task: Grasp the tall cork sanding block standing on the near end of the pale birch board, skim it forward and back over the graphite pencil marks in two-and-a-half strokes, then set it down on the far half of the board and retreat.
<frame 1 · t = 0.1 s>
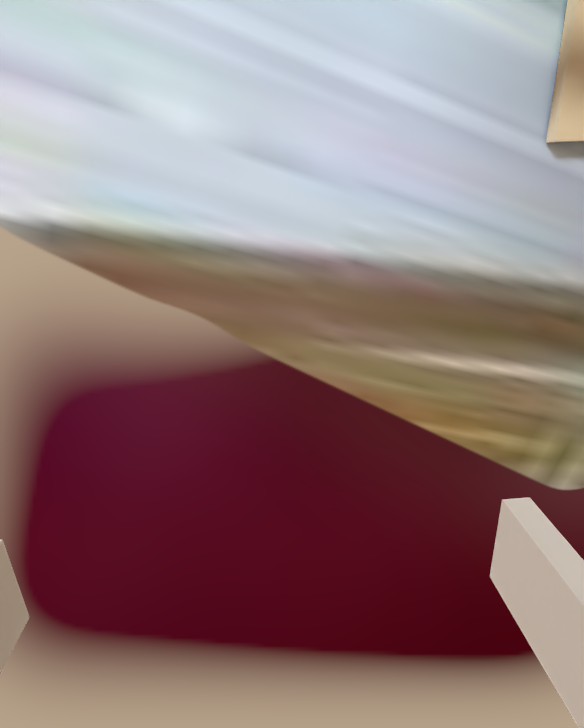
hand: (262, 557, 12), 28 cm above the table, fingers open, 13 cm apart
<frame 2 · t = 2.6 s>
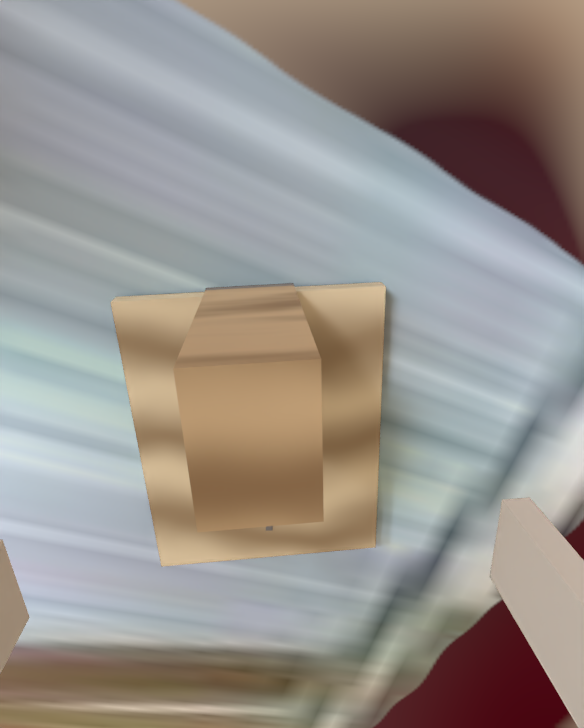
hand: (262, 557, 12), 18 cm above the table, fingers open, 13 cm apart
sanding block: (254, 342, 28), point 1 cm above the table, touching board
board: (261, 432, 32), on the table
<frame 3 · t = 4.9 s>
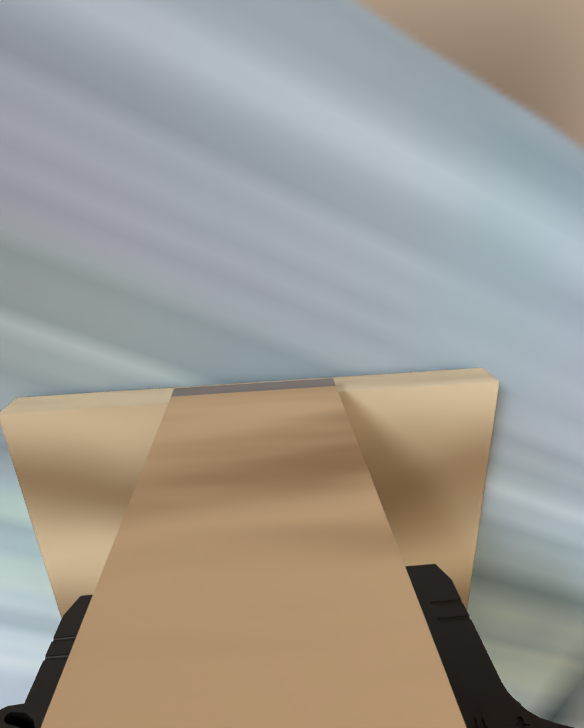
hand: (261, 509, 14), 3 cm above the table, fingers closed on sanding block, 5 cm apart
sanding block: (261, 475, 16), point 1 cm above the table, touching board, gripper
board: (271, 596, 20), on the table
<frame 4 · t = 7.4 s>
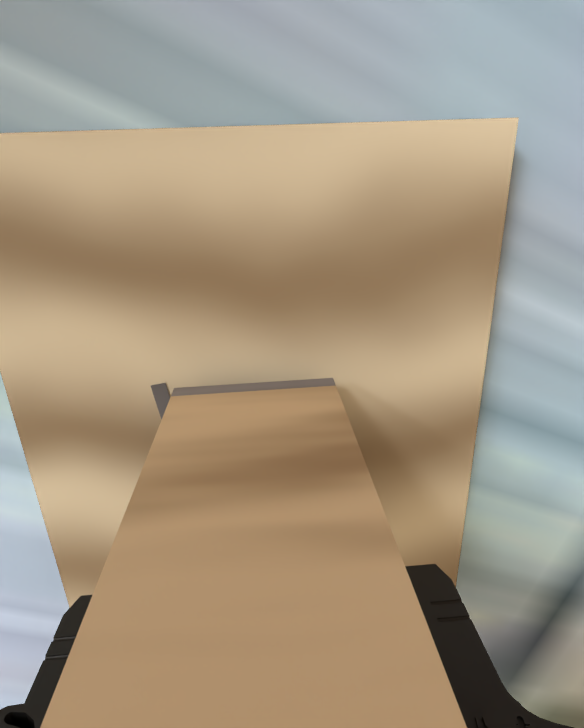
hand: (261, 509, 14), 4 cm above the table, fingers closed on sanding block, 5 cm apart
sanding block: (261, 475, 16), point 2 cm above the table, touching gripper
board: (257, 424, 17), on the table
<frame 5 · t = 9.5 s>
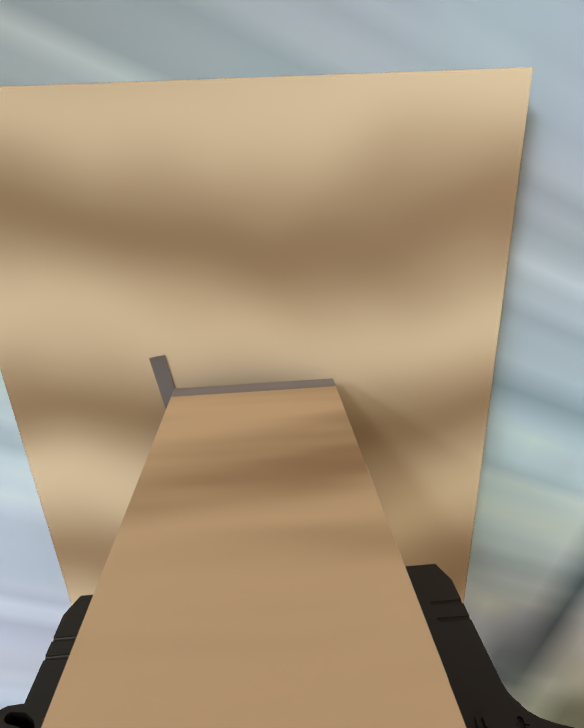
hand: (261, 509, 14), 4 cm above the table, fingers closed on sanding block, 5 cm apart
sanding block: (261, 476, 16), point 2 cm above the table, touching gripper
board: (260, 401, 17), on the table
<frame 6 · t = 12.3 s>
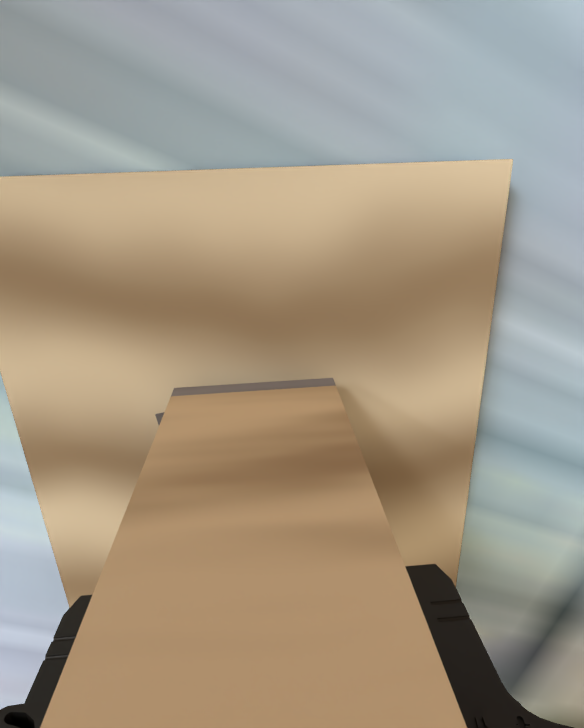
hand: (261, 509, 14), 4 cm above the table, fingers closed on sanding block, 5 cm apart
sanding block: (261, 475, 16), point 2 cm above the table, touching gripper
board: (258, 449, 18), on the table
when the fingers open (3 cm above the table, at t = 14.4 s): sanding block stays where it is, resting on board.
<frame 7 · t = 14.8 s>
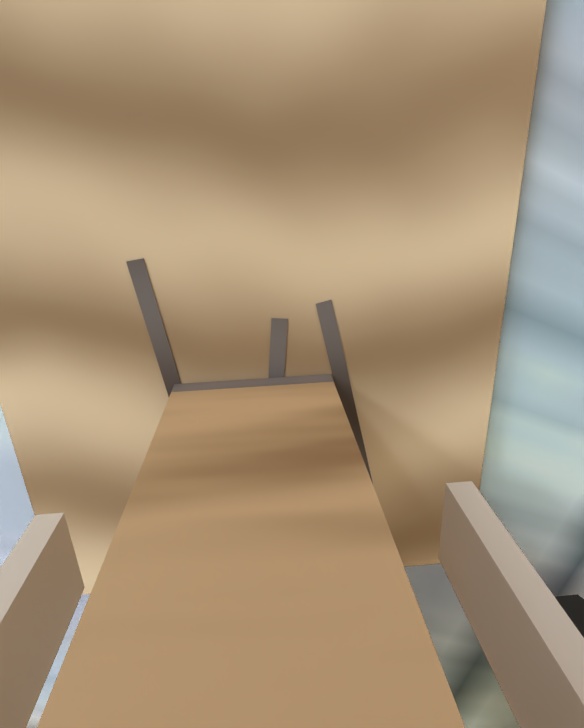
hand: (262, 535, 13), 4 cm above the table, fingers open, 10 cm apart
sanding block: (260, 470, 16), point 1 cm above the table, touching board
board: (251, 323, 15), on the table
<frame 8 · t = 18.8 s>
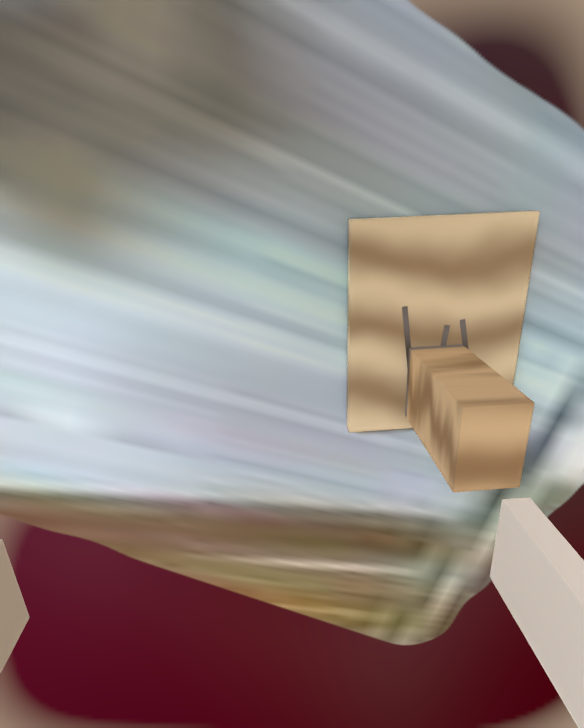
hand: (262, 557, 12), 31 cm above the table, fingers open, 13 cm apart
sanding block: (432, 380, 44), point 1 cm above the table, touching board
board: (432, 326, 43), on the table
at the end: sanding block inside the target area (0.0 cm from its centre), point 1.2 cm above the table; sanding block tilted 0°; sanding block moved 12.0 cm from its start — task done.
